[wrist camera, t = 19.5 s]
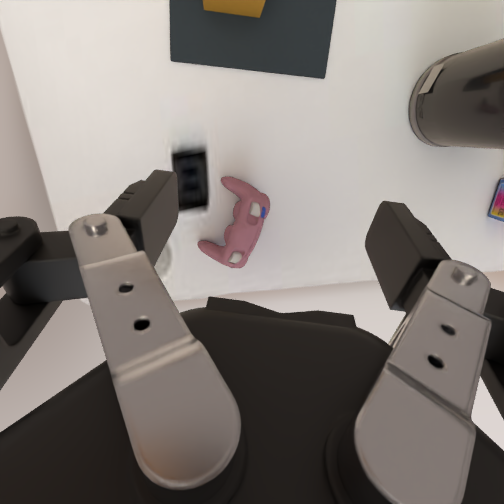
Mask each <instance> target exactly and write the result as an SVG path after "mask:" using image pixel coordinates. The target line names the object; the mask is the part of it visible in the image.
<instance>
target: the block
mask: <svg viewBox="0 0 504 504" xmlns="http://www.w3.org/2000/svg"><path fill="white" fill-rule="evenodd" d="M265 1H266V0H203V7H204V10H207V11H214V12H221V13H229V14H236V15H243V16H250V17H257V18H260V15H261V12H262V9H263V7H264V4H265Z"/></svg>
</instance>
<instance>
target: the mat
mask: <svg viewBox="0 0 504 504" xmlns="http://www.w3.org/2000/svg"><path fill="white" fill-rule="evenodd" d="M335 7H336V0H266V1H265V4H264V7H263V9H262V12H261V15H260V18H257V17H250V16H243V15H236V14H229V13H221V12H214V11H207V10H204V7H203V0H170V52H171V61H175V62H184V63H192V64H201V65H210V66H218V67H227V68H236V69H245V70H253V71H262V72H271V73H279V74H288V75H297V76H305V77H314V78H323V79H324V78H325V74H326V67H327V60H328V54H329V47H330V40H331V33H332V27H333V20H334V13H335Z"/></svg>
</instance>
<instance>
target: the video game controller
mask: <svg viewBox="0 0 504 504" xmlns="http://www.w3.org/2000/svg"><path fill="white" fill-rule="evenodd" d="M221 182H222V184H223V185H224V186H225V187H226V188H227V189H228V190H230V191H232V192H233V193H235V194H236V195H237V196H238V197H239V198H240V199H241V201H239V202H237V203H236V204H235V206H234V210H233V216H234V218H235V219H236V220H235V222H234V224H233V226H232V225H229V226H228V227H227V228H226V230H225V233H224V240H225V243H226V245H225V247H223V246H219V245H216V244H214V243H211V242H208V241H199V242H198V247H199V249H200V250H201V251H202V252H203V253H205V254H206V255H208V256H209V257H211V258H213V259H215V260H216V261H218V262H220V263H221V264H224V265H226V266H229V267H231V268H242V267H243V266H244V265H245V264H246V262H247V260H248V257H249V255H250V254H251V252H252V250H253V249H254V247H255V245H256V242H257V240H258V238H259V235H260V232H261V229H262V226H263V222H264V219H265V218H266V217H267V215H268V212H269V208H270V201H269V198H268V196H267V195H266V194H263V193H260V192H259V191H258V190H257V189H256V188H254V187H253V186H251V185H250V184H248V183H246V182H243V181H241V180H238V179H235V178H233V177H222V178H221Z"/></svg>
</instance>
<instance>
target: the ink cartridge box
mask: <svg viewBox="0 0 504 504" xmlns="http://www.w3.org/2000/svg"><path fill="white" fill-rule="evenodd" d="M488 216H489V217H491V218H494V219H497V220H500V221H503V222H504V178H503V179H501V180H500V183H499V186H498V189H497V192H496V194H495V197H494V200H493V203H492V206H491V209H490V211H489V214H488Z"/></svg>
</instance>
